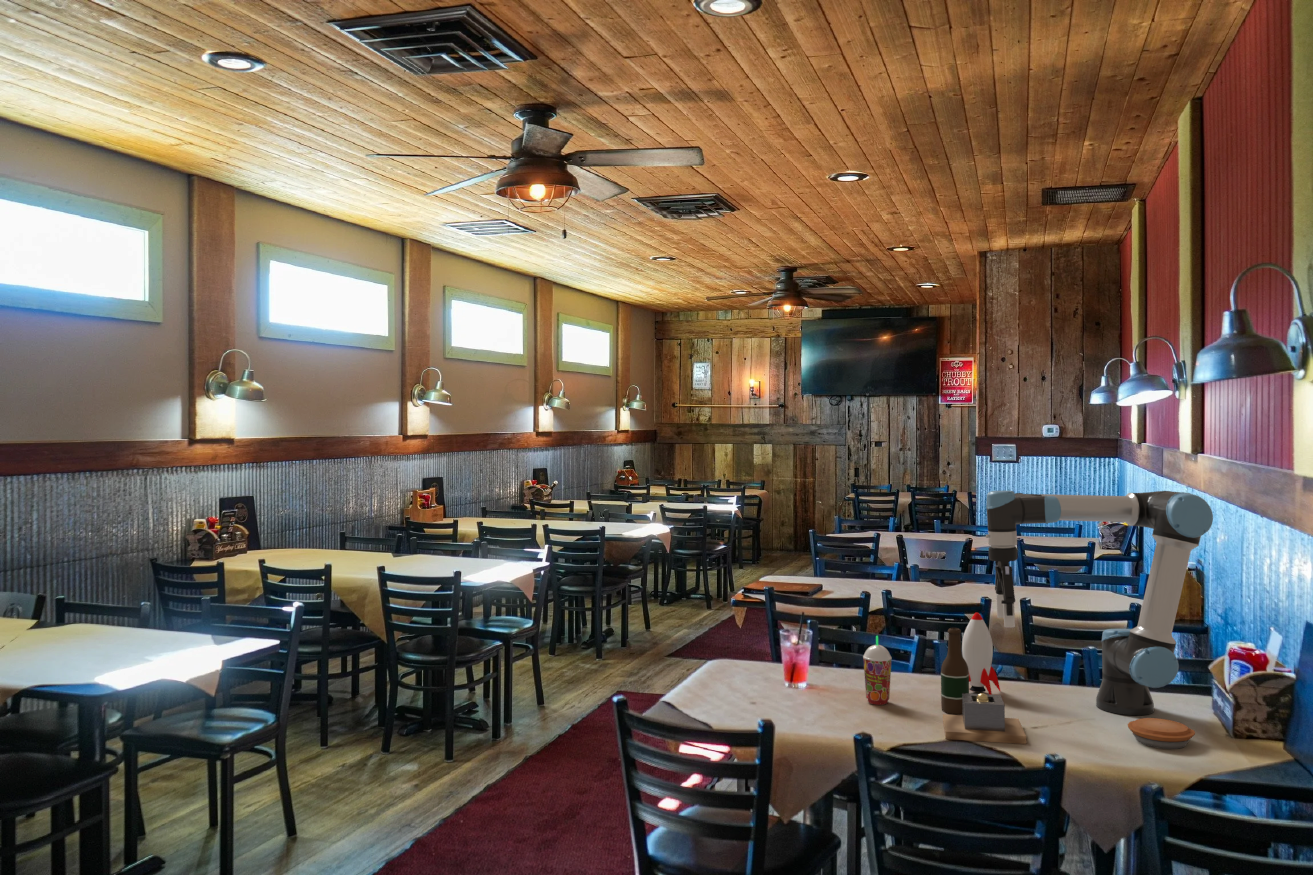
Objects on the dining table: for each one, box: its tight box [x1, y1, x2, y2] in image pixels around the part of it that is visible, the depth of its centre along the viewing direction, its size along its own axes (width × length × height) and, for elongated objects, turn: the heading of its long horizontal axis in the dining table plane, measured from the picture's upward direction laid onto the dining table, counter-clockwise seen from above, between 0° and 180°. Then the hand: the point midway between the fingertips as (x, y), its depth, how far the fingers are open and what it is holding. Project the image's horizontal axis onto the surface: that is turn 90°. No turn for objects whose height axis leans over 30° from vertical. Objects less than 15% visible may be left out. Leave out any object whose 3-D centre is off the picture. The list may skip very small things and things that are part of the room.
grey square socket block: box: [962, 692, 1006, 732], centre depth 259 cm, size 10×10×7 cm
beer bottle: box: [940, 627, 970, 715], centre depth 279 cm, size 8×8×24 cm
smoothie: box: [862, 635, 893, 706], centre depth 289 cm, size 8×8×20 cm
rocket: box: [961, 612, 1001, 695], centre depth 299 cm, size 11×11×25 cm
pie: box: [1127, 717, 1196, 750], centre depth 250 cm, size 15×16×5 cm
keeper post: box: [977, 692, 988, 702], centre depth 259 cm, size 3×3×8 cm
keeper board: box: [942, 713, 1027, 745], centre depth 259 cm, size 20×16×2 cm
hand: (1005, 622), depth 268 cm, fingers open, 13 cm apart
